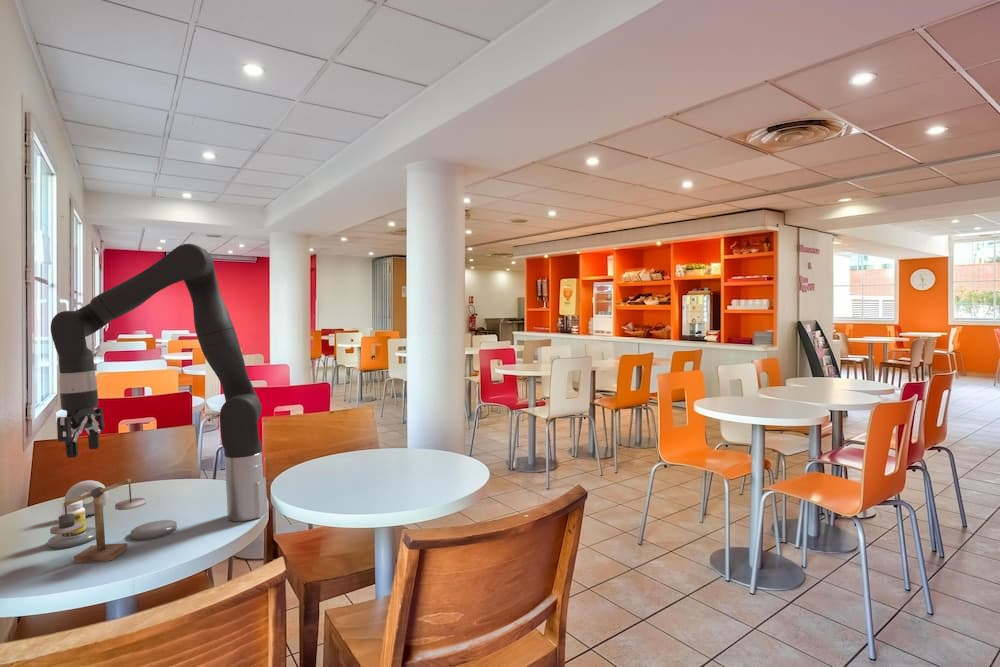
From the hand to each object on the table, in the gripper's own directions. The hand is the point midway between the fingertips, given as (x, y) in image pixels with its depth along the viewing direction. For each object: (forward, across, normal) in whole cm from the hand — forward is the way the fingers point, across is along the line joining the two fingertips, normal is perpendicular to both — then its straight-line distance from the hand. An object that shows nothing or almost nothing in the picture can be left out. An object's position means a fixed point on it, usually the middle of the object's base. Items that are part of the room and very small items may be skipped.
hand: (83, 452), depth 139 cm
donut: (+21, +15, +10) cm, 28 cm away
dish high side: (+21, -1, -16) cm, 27 cm away
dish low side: (+21, -3, +2) cm, 22 cm away
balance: (+21, -14, -11) cm, 28 cm away
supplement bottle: (+20, -3, +2) cm, 21 cm away
